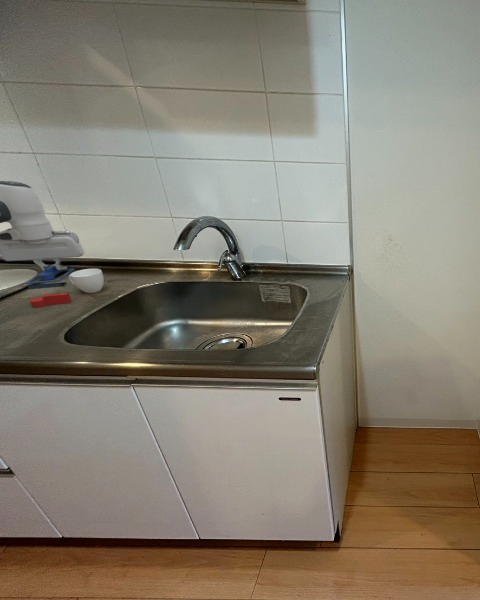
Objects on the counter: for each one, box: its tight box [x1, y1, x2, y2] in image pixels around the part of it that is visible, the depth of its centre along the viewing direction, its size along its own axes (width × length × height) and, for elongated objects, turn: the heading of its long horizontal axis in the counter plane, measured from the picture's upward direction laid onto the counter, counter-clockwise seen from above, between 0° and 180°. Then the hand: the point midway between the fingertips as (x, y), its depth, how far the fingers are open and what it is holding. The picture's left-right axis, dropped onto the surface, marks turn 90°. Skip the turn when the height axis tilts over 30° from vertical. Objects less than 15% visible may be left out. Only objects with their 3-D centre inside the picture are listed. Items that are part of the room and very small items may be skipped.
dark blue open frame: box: [25, 268, 75, 290], centre depth 110 cm, size 12×8×2 cm
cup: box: [68, 268, 105, 294], centre depth 105 cm, size 8×10×7 cm
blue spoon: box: [38, 263, 61, 281], centre depth 109 cm, size 9×3×3 cm, turn 25°
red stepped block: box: [29, 292, 73, 308], centre depth 96 cm, size 9×3×3 cm, turn 115°
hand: (52, 270), depth 111 cm, fingers closed on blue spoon
